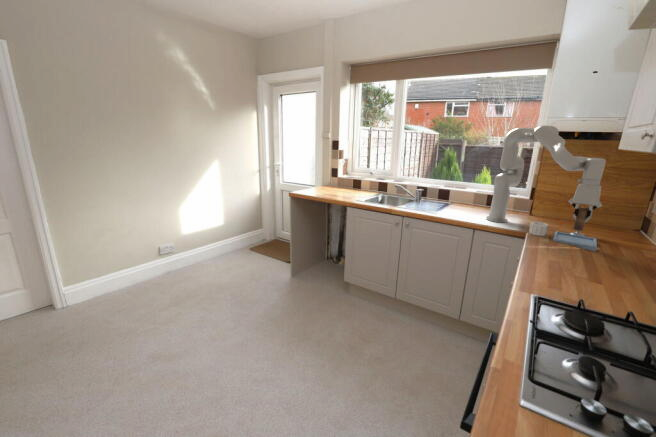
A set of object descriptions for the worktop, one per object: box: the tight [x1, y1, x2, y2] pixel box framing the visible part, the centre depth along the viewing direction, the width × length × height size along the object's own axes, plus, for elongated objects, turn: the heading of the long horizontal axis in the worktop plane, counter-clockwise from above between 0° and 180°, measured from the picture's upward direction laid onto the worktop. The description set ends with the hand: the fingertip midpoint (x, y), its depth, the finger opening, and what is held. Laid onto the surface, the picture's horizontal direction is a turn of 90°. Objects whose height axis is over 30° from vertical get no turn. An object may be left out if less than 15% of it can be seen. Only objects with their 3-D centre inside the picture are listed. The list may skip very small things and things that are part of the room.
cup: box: [528, 221, 549, 237], centre depth 174 cm, size 8×8×7 cm
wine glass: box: [569, 207, 594, 237], centre depth 177 cm, size 8×8×15 cm
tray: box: [552, 230, 598, 252], centre depth 164 cm, size 18×18×2 cm
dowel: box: [572, 206, 589, 232], centre depth 161 cm, size 4×4×12 cm
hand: (581, 216), depth 160 cm, fingers closed on dowel, 4 cm apart
